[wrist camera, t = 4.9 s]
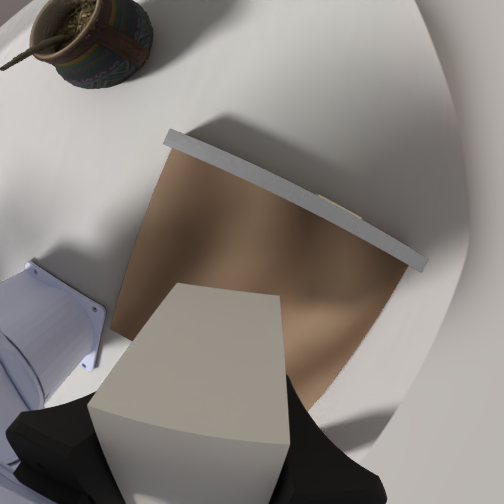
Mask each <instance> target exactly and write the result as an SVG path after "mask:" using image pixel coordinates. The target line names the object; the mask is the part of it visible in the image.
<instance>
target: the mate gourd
mask: <svg viewBox="0 0 504 504" xmlns="http://www.w3.org/2000/svg"><path fill="white" fill-rule="evenodd" d="M152 40H153V29H152V26H151V23H150V21H149V17H148V15H147V12H145V11H144V10H143V8H142V7H141V6H140V5H139V4H138V3H136V2H135V1H133V0H49V1H48V2H47V3H46V4H45V6H44V7H43V8H42V10H41V11H40V13H39V14H38V16H37V18H36V20H35V22H34V24H33V27H32V30H31V35H30V48H29V49H27V50H26V51H25V52H23V53H21V54H19V55H18V56H17V57H14V58H13V60H11V61H10V62H8V63H7V64H5V65H3V66H2V67H1V68H0V70H1V71H4V70H6V69H8V68H9V67H11V66H13V65H14V64H16V63H18V62H20V61H23V59H26V58H27V57H29V56H30V55H32V54H33V56H34V57H35V58H36V59H38V60H40V61H42V62H43V61H44V62H47V63H49V64H52V65H53V66H55V68H56V70H57V72H58V74H60V75H61V76H62V77H63V78H64V80H66V81H68V82H69V83H71V84H72V85H73V86H77V87H81V88H86V89H99V88H108V87H112V86H115V85H118V84H120V83H122V82H124V81H125V80H127V79H128V78H129V77H130V76H132V75H133V74H134V73H135V72H136V71H137V70H138V69H140V68H141V67H142V66H143V64H144V63H145V62H146V61H145V60H146V59H148V57H149V55H150V49H151V46H152Z"/></svg>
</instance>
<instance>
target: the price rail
mask: <svg viewBox="0 0 504 504" xmlns="http://www.w3.org/2000/svg"><path fill="white" fill-rule="evenodd" d="M163 144H165V145H167V146H169V147H172V148H174V149H177V150H179V151H181V152H184V153H186V154H188V155H191V156H193V157H195V158H198V159H200V160H202V161H205V162H207V163H209V164H211V165H214V166H216V167H218V168H220V169H223V170H225V171H227V172H229V173H231V174H234V175H236V176H238V177H240V178H242V179H245V180H247V181H249V182H251V183H253V184H255V185H257V186H259V187H262V188H264V189H266V190H268V191H270V192H272V193H274V194H276V195H278V196H280V197H282V198H284V199H286V200H288V201H290V202H292V203H294V204H296V205H298V206H300V207H302V208H304V209H306V210H308V211H310V212H312V213H314V214H316V215H318V216H320V217H322V218H324V219H326V220H328V221H330V222H332V223H334V224H335V225H337V226H339V227H341V228H343V229H345V230H347V231H349V232H350V233H352V234H354V235H356V236H358V237H360V238H362V239H363V240H365V241H367V242H369V243H371V244H372V245H374V246H376V247H378V248H380V249H381V250H383V251H385V252H387V253H388V254H390V255H392V256H394V257H395V258H397V259H399V260H401V261H402V262H404V263H406V264H408V265H409V266H411V267H413V268H414V269H416V270H418V271H419V272H421V273H422V271H423V269H424V267H425V265H426V264H427V262H428V260H429V259H427V258H426V257H424V256H422V255H421V254H419V253H418V252H416V251H414V250H413V249H411V248H410V247H408V246H406V245H405V244H403V243H401V242H400V241H398V240H396V239H395V238H393V237H391V236H390V235H388V234H386V233H384V232H383V231H381V230H379V229H378V228H376V227H374V226H372V225H371V224H369V223H367V222H365V221H364V220H362V218H361V217H360V216H358V215H356V214H354V213H353V212H351V211H349V210H347V209H345V208H343V207H342V206H340V205H338V204H336V203H334V202H332V201H330V200H329V199H327V198H325V197H323V196H321V195H319V194H317V193H316V194H313V193H312V192H310V191H308V190H306V189H304V188H302V187H300V186H298V185H296V184H294V183H292V182H290V181H288V180H286V179H284V178H282V177H280V176H277V175H275V174H273V173H271V172H269V171H267V170H265V169H263V168H261V167H259V166H256V165H254V164H252V163H250V162H248V161H246V160H243V159H241V158H239V157H237V156H235V155H232V154H230V153H228V152H226V151H223V150H221V149H219V148H216V147H214V146H212V145H209V144H207V143H205V142H202V141H200V140H197V139H195V138H193V137H190V136H188V135H185V134H183V133H180V132H178V131H175V130H173V129H169V131H168V134H167V136H166V138H165V140H164V143H163Z"/></svg>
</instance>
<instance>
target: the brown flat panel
mask: <svg viewBox="0 0 504 504" xmlns="http://www.w3.org/2000/svg"><path fill="white" fill-rule="evenodd" d="M407 267H408V264H406V263H404V262H402V261H401V260H399V259H397V258H395V257H394V256H392V255H390V254H388V253H387V252H385V251H383V250H381V249H380V248H378V247H376V246H374V245H372V244H371V243H369V242H367V241H365V240H363V239H362V238H360V237H358V236H356V235H354V234H352V233H350V232H349V231H347V230H345V229H343V228H341V227H339V226H337V225H335V224H334V223H332V222H330V221H328V220H326V219H324V218H322V217H320V216H318V215H316V214H314V213H312V212H310V211H308V210H306V209H304V208H302V207H300V206H298V205H296V204H294V203H292V202H290V201H288V200H286V199H284V198H282V197H280V196H278V195H276V194H274V193H272V192H270V191H268V190H266V189H264V188H262V187H259V186H257V185H255V184H253V183H251V182H249V181H247V180H245V179H242V178H240V177H238V176H236V175H234V174H231V173H229V172H227V171H225V170H223V169H220V168H218V167H216V166H214V165H211V164H209V163H207V162H205V161H202V160H200V159H198V158H195V157H193V156H191V155H188V154H186V153H184V152H181V151H179V150H177V149H174V148H172V150H171V152H170V154H169V156H168V159H167V161H166V163H165V166H164V168H163V171H162V173H161V175H160V178H159V180H158V183H157V185H156V188H155V190H154V193H153V195H152V198H151V201H150V203H149V206H148V208H147V211H146V214H145V217H144V219H143V222H142V225H141V228H140V230H139V233H138V236H137V239H136V242H135V245H134V248H133V251H132V254H131V257H130V260H129V263H128V266H127V270H126V273H125V276H124V279H123V283H122V286H121V290H120V293H119V297H118V300H117V304H116V307H115V311H114V315H113V319H112V322H111V326H110V329H111V330H113V331H115V332H117V333H118V334H120V335H122V336H124V337H126V338H128V339H129V340H131V341H133V340H134V339H135V337H136V336H137V335H138V333H139V332H140V331H141V329H142V328H143V327H144V325H145V324H146V323H147V321H148V320H149V319H150V317H151V316H152V315H153V313H154V312H155V311H156V309H157V308H158V307H159V306H160V304H161V303H162V302H163V300H164V299H165V298H166V296H167V295H168V294H169V292H170V291H171V290H172V289H173V287H174V286H175V285H176V283H182V284H189V285H196V286H204V287H211V288H219V289H227V290H234V291H243V292H251V293H259V294H268V295H277V296H280V307H281V319H282V332H283V344H284V358H285V371H286V374H287V375H288V376H289V378H290V380H291V383H292V385H293V387H294V389H295V391H296V393H297V395H298V397H299V399H300V400H301V402H302V404H303V405H304V407H305V409H306V410H307V412H308V411H309V409H310V408H311V407H312V406H313V405H314V403H315V402H316V401H317V400H318V398H319V397H320V396H321V395H322V393H323V392H324V391H325V390H326V388H327V387H328V386H329V385H330V383H331V382H332V381H333V379H334V378H335V377H336V376H337V374H338V373H339V372H340V370H341V369H342V368H343V366H344V365H345V363H346V362H347V361H348V359H349V358H350V357H351V355H352V354H353V352H354V351H355V350H356V348H357V347H358V345H359V344H360V342H361V341H362V340H363V338H364V337H365V335H366V334H367V332H368V331H369V329H370V328H371V326H372V325H373V323H374V322H375V320H376V318H377V317H378V315H379V314H380V312H381V311H382V309H383V307H384V306H385V304H386V303H387V301H388V299H389V298H390V296H391V294H392V293H393V291H394V289H395V288H396V286H397V284H398V283H399V281H400V279H401V278H402V276H403V274H404V272H405V270H406V269H407Z"/></svg>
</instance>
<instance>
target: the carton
mask: <svg viewBox="0 0 504 504" xmlns="http://www.w3.org/2000/svg"><path fill="white" fill-rule="evenodd" d="M87 407H88V410H89V413H90V416H91V419H92V422H93V425H94V428H95V431H96V434H97V437H98V440H99V442H100V445H101V448H102V450H103V453H104V455H105V458H106V460H107V463H108V465H109V468H110V470H111V472H112V475H113V477H114V479H115V481H116V483H117V486H118V488H119V490H120V492H121V494H122V496H123V498H124V500H125V502H126V504H269V501H270V498H271V496H272V493H273V491H274V488H275V485H276V483H277V480H278V477H279V475H280V472H281V469H282V466H283V464H284V461H285V458H286V455H287V452H288V449H289V446H290V433H289V416H288V401H287V386H286V371H285V358H284V344H283V332H282V319H281V307H280V296H277V295H268V294H259V293H251V292H243V291H234V290H227V289H219V288H211V287H204V286H196V285H189V284H182V283H176V285H175V286H174V287H173V289H172V290H171V291H170V292H169V294H168V295H167V296H166V298H165V299H164V300H163V302H162V303H161V304H160V306H159V307H158V308H157V309H156V311H155V312H154V313H153V315H152V316H151V317H150V319H149V320H148V321H147V323H146V324H145V325H144V327H143V328H142V329H141V331H140V332H139V333H138V335H137V336H136V337H135V339H134V340H133V341H132V343H131V344H130V346H129V347H128V348H127V350H126V351H125V352H124V354H123V355H122V356H121V358H120V359H119V361H118V362H117V363H116V365H115V366H114V368H113V369H112V370H111V372H110V373H109V374H108V376H107V377H106V379H105V380H104V382H103V383H102V384H101V386H100V387H99V389H98V390H97V391H96V393H95V394H94V396H93V397H92V399H91V400H90V401H89V403H88V404H87Z"/></svg>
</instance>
